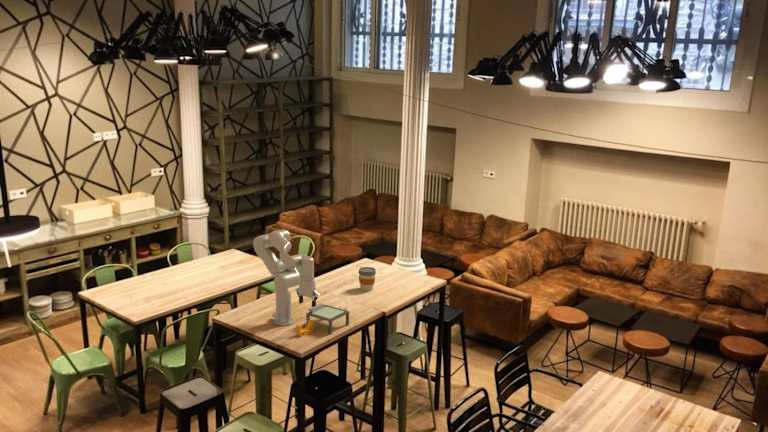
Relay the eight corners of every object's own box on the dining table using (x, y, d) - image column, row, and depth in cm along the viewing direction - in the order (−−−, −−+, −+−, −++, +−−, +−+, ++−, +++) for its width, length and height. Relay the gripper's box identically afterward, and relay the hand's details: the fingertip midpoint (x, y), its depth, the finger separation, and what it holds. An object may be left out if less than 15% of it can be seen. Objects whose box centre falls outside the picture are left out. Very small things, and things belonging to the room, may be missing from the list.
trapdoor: (307, 313, 424) (307, 309, 424) (322, 306, 436) (322, 302, 436) (330, 320, 415) (330, 315, 414) (344, 313, 427) (344, 308, 426)
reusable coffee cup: (378, 290, 495) (379, 270, 491) (364, 293, 488) (364, 273, 484) (369, 285, 505) (369, 265, 501) (354, 288, 498) (355, 268, 494)
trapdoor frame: (306, 327, 424) (306, 313, 422) (325, 317, 439) (325, 304, 437) (330, 334, 414) (330, 320, 412) (349, 324, 429) (349, 311, 427)
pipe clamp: (301, 337, 409) (301, 327, 407) (296, 335, 411) (296, 325, 410) (315, 331, 418) (315, 321, 417) (310, 329, 421) (310, 319, 419)
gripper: (292, 276, 408) (292, 303, 412) (315, 282, 399) (315, 309, 403) (300, 273, 414) (300, 299, 418) (322, 278, 405) (322, 305, 409)
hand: (307, 304), depth 410 cm, fingers open, 9 cm apart
